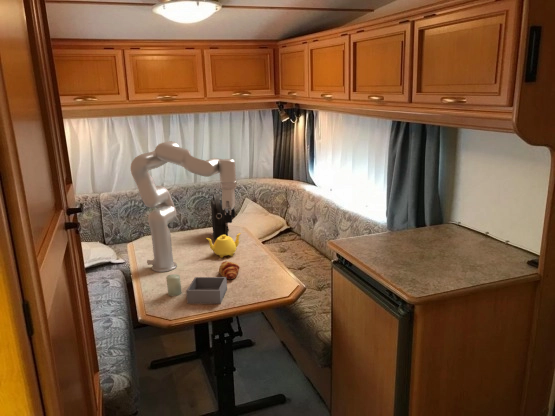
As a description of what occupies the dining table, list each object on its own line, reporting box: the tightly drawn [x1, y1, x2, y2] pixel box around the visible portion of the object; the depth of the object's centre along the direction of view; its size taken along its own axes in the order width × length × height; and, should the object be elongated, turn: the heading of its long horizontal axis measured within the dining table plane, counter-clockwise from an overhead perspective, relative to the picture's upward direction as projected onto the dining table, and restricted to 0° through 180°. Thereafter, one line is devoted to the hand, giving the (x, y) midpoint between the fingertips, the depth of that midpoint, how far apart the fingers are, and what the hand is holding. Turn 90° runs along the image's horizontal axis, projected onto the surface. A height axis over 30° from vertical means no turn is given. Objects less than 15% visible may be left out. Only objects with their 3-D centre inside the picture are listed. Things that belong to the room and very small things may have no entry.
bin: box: [185, 276, 228, 305], centre depth 203 cm, size 15×15×6 cm
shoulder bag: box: [210, 193, 230, 242], centre depth 284 cm, size 23×9×28 cm, turn 15°
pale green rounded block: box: [165, 273, 182, 297], centre depth 207 cm, size 6×6×8 cm
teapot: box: [205, 232, 242, 259], centre depth 255 cm, size 20×15×12 cm
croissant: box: [218, 260, 240, 280], centre depth 228 cm, size 21×10×8 cm, turn 14°
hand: (230, 219), depth 222 cm, fingers open, 9 cm apart
